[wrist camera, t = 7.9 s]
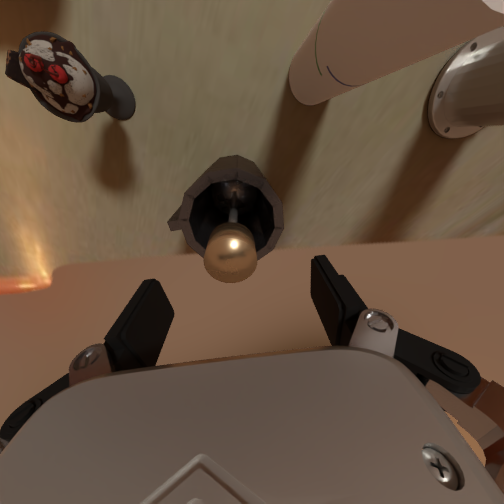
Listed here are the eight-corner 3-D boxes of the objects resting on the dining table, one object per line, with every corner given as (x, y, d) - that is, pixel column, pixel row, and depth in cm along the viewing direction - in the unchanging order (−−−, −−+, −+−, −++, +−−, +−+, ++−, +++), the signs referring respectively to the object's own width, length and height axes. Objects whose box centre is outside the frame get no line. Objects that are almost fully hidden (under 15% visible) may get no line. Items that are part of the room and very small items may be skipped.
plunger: (253, 165, 31) (277, 205, 13) (259, 210, 35) (283, 292, 16) (206, 172, 31) (162, 223, 13) (217, 217, 35) (195, 305, 17)
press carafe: (261, 150, 32) (279, 160, 18) (268, 214, 37) (285, 258, 24) (181, 163, 32) (140, 183, 18) (200, 224, 38) (179, 275, 24)
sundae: (151, 98, 28) (75, 63, 15) (127, 137, 30) (43, 136, 17) (104, 52, 25) (-38, -40, 12) (82, 98, 27) (-59, 62, 14)
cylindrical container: (312, 117, 30) (504, 64, 8) (278, 79, 27) (426, -131, 6) (349, 68, 27) (761, -187, 6) (315, 21, 25) (816, -726, 3)
